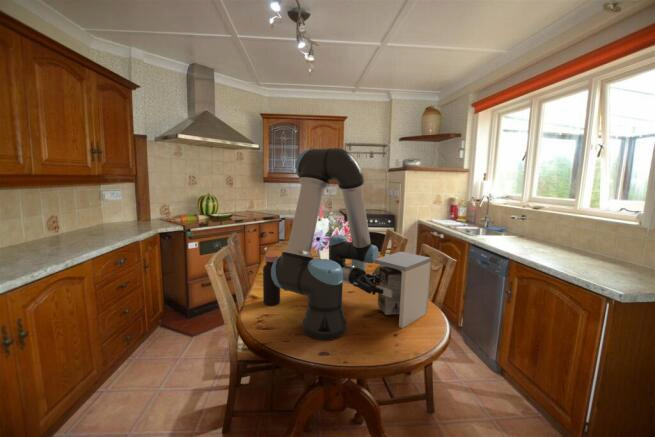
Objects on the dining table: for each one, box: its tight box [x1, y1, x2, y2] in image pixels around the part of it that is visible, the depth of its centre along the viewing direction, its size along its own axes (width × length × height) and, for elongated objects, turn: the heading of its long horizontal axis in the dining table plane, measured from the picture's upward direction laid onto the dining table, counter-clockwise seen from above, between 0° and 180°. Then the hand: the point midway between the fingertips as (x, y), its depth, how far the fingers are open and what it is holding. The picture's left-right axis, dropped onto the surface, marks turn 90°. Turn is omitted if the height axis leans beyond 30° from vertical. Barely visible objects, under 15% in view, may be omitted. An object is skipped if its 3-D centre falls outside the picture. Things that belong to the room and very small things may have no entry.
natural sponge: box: [372, 264, 383, 285], centre depth 146 cm, size 9×9×10 cm
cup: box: [350, 260, 367, 272], centre depth 163 cm, size 8×8×10 cm
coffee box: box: [377, 266, 402, 316], centre depth 116 cm, size 9×6×16 cm
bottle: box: [262, 253, 281, 307], centre depth 123 cm, size 7×7×20 cm
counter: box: [374, 251, 432, 329], centre depth 115 cm, size 18×13×22 cm
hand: (399, 290), depth 113 cm, fingers closed on coffee box, 10 cm apart
